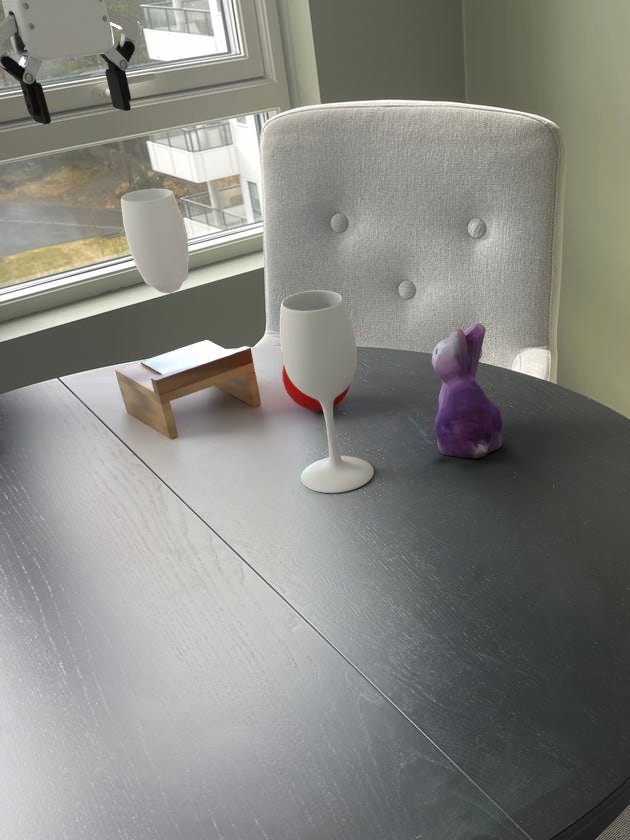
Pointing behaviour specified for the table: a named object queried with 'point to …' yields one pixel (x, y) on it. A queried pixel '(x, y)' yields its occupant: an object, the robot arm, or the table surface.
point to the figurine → (464, 398)
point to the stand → (185, 381)
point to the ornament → (305, 399)
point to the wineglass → (322, 376)
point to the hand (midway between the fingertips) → (83, 115)
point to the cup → (156, 237)
